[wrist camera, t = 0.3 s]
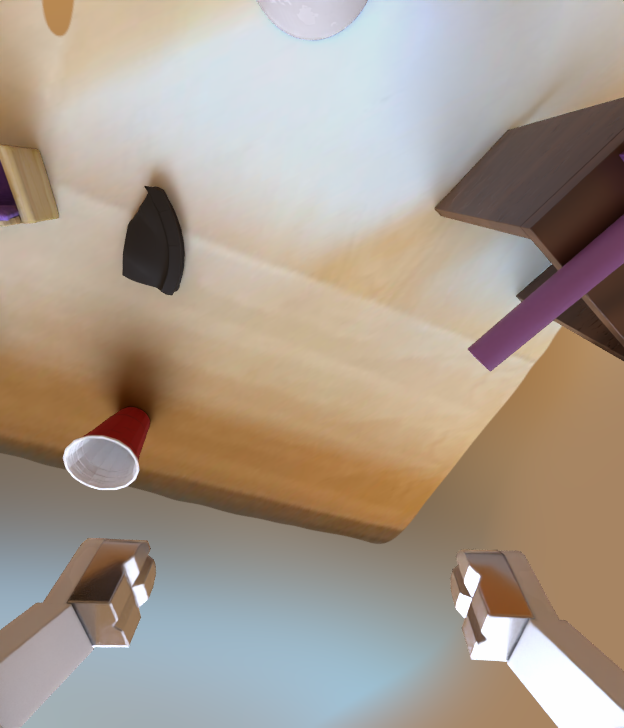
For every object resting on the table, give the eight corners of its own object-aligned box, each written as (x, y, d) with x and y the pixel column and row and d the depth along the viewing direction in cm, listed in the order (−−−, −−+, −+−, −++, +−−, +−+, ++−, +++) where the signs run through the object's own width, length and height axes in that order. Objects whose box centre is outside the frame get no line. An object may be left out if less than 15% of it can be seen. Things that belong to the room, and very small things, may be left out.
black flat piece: (198, 203, 50) (195, 203, 48) (178, 294, 56) (174, 297, 54) (137, 178, 49) (131, 178, 47) (122, 274, 54) (117, 276, 53)
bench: (434, 208, 50) (529, 228, 27) (507, 129, 46) (692, 77, 23) (521, 302, 55) (661, 382, 33) (594, 239, 51) (810, 283, 29)
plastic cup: (162, 449, 69) (134, 499, 58) (103, 436, 68) (63, 484, 57) (169, 402, 64) (139, 447, 53) (105, 387, 63) (62, 429, 52)
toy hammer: (504, 383, 33) (520, 400, 30) (438, 321, 31) (450, 334, 28) (743, 195, 26) (792, 196, 23) (683, 94, 24) (731, 83, 21)
